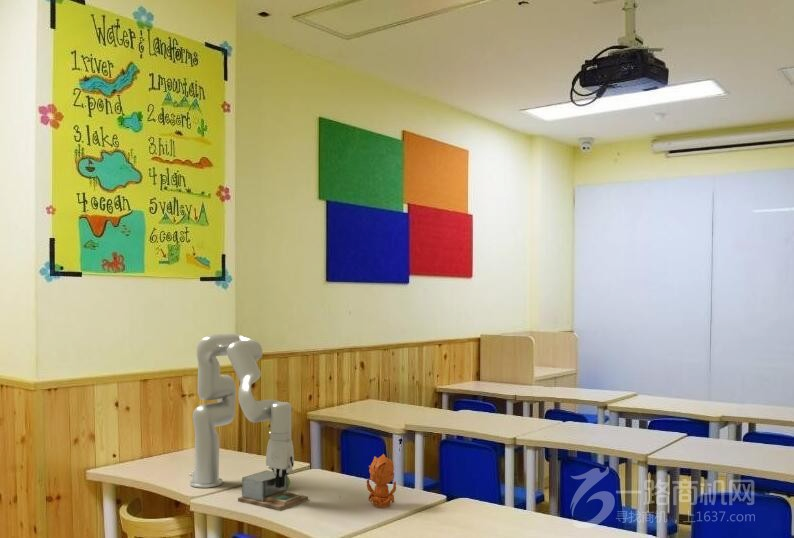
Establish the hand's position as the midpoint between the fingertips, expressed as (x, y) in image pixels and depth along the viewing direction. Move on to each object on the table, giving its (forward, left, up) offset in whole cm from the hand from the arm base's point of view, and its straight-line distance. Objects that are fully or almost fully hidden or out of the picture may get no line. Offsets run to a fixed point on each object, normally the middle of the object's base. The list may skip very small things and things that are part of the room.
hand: (280, 486), depth 268 cm
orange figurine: (+33, +18, -6) cm, 38 cm away
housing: (-7, 0, -4) cm, 8 cm away
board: (-3, 0, -6) cm, 6 cm away
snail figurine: (-10, +14, -6) cm, 18 cm away
